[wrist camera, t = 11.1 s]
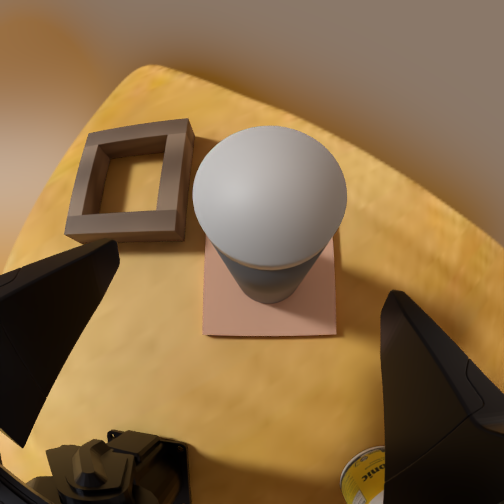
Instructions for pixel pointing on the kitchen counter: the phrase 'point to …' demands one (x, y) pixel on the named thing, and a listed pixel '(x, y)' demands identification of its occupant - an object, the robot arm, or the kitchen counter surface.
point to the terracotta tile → (269, 315)
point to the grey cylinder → (269, 207)
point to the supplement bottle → (364, 477)
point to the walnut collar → (170, 190)
